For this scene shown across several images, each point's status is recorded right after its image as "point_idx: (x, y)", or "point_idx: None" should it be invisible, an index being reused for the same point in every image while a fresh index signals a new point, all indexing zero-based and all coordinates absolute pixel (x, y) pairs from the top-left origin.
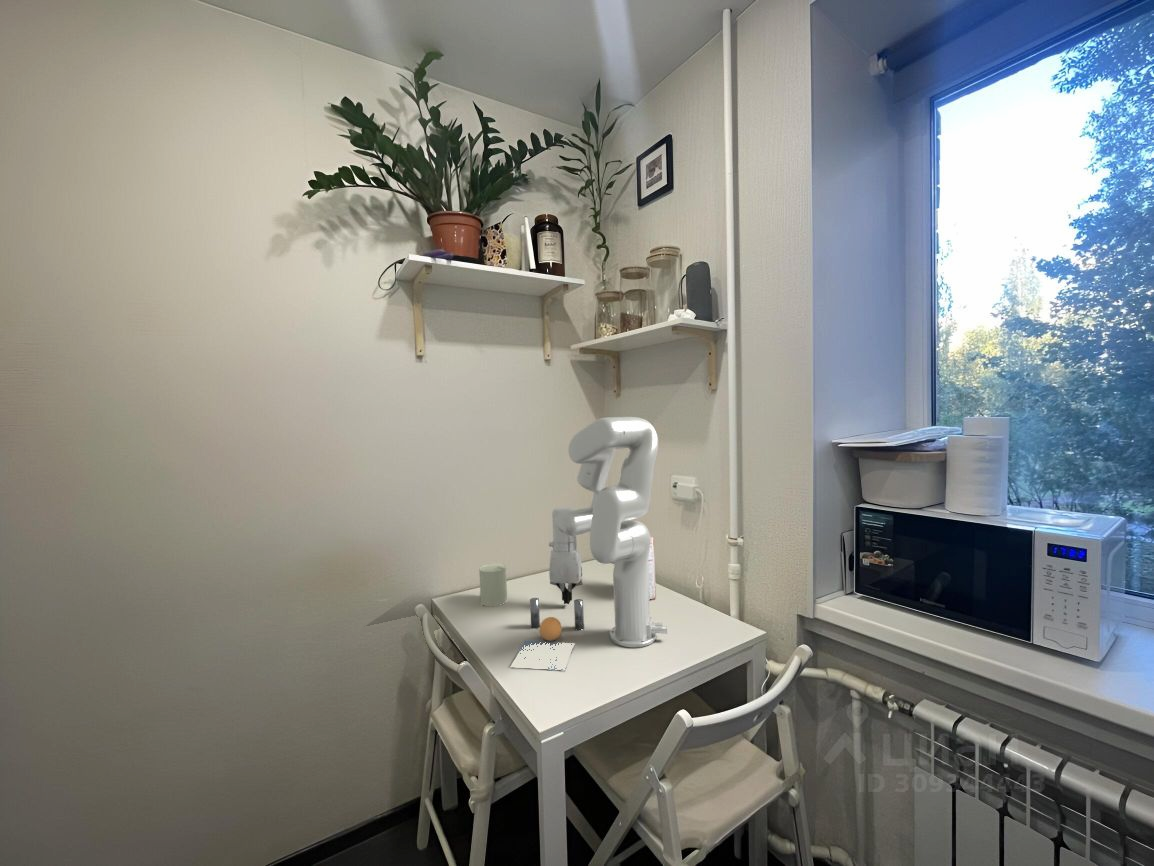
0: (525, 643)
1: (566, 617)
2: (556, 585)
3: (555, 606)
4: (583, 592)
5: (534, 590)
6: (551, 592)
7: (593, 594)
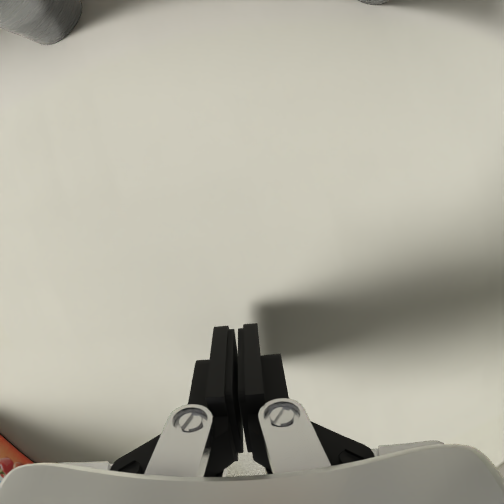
0: None
1: (184, 150)
2: (366, 446)
3: (331, 330)
4: None
5: None
6: None
7: None
